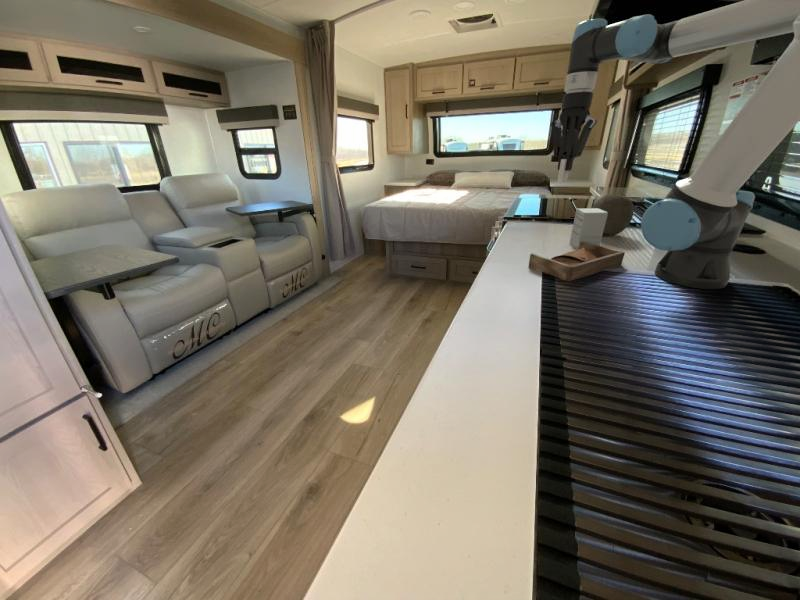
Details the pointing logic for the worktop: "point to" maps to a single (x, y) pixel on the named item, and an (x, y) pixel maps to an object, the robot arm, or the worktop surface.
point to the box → (568, 273)
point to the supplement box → (588, 226)
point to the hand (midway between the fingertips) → (562, 181)
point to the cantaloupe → (615, 213)
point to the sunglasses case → (575, 257)
